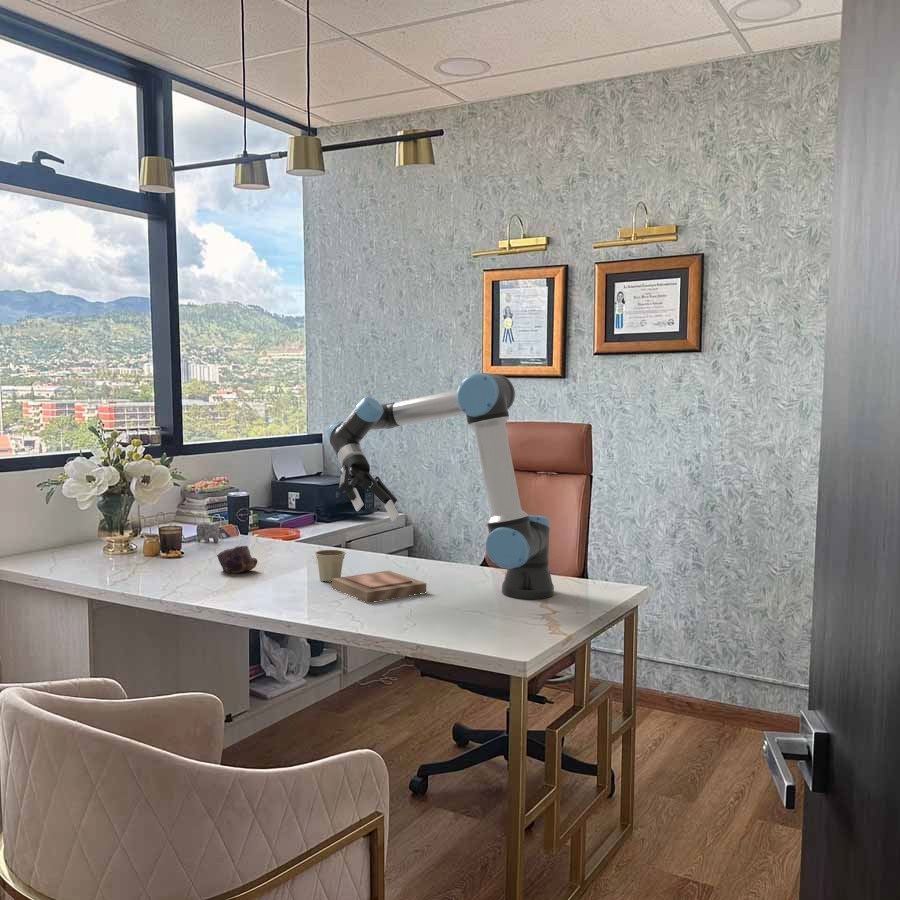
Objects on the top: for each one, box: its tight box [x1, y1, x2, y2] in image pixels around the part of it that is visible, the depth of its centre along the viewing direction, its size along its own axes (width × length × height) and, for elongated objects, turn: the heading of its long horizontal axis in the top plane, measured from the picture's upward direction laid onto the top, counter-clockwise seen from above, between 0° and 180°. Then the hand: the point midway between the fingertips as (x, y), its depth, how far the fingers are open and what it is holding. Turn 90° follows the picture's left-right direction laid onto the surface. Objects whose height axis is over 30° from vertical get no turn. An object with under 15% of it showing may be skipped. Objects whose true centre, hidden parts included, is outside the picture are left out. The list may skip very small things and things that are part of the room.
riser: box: [331, 570, 427, 603], centre depth 245 cm, size 20×20×4 cm
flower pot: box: [314, 549, 347, 583], centre depth 257 cm, size 9×9×9 cm
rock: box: [216, 545, 258, 575], centre depth 266 cm, size 12×9×10 cm
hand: (378, 513), depth 232 cm, fingers open, 13 cm apart
